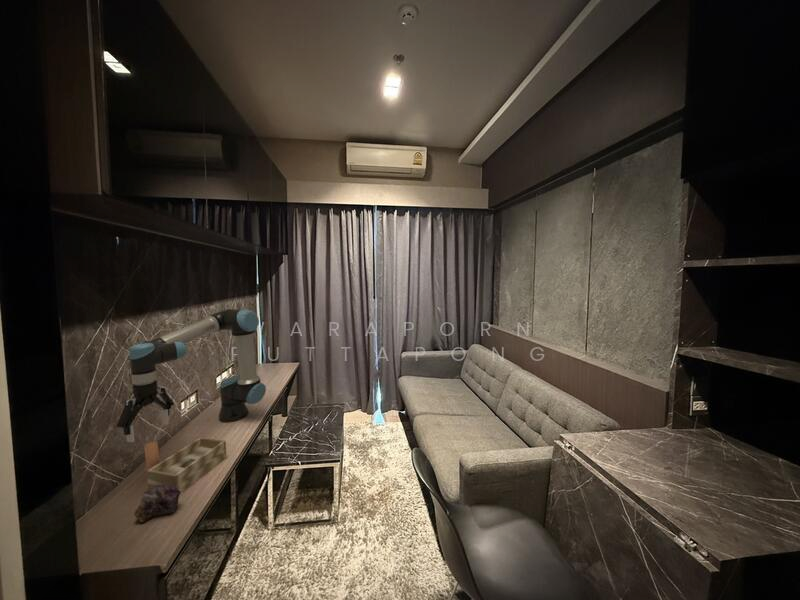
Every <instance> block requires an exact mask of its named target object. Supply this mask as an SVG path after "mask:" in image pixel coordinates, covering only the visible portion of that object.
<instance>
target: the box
mask: <svg viewBox="0 0 800 600" xmlns="http://www.w3.org/2000/svg"><path fill="white" fill-rule="evenodd" d="M226 442H227V441H226V440H221V439H215V438H208V437H199V438H197V439H196V440H194V441H192V442H190V443H189V444H188V445H185V446H184V447H182V448H181V449H179V450H178V451H176V452H175V453H173V454H172V455H170V456H168V457H167V458H165V459H163V460H162V461H159V464H157V465H156V466H154V467H152V468H151V469H149V470H148V471H147V470H146V477H147V479H146V480H147V488H148V489H150V488H152V487H153V486H157V485H164V484H170V485H172V486H175V488H177V490H179V491H180V494H182V492H184V491H186V490H187V489H188V488H189V487H190V486H192V485H194V483H195V482H197V481H199V479H200V478H202V477H203V476H205V475H206V474H207V473H208V472H210V471H211V470H213V468H215V467H216V466H217V465H219V464H220V463H222V462H223V461H224V460H226V459H227V446H226V445H227V443H226ZM148 489H147V490H148Z"/></svg>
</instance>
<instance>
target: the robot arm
mask: <svg viewBox="0 0 800 600" xmlns="http://www.w3.org/2000/svg"><path fill="white" fill-rule="evenodd" d="M259 324H260V320H259V316H258V315H257V313H255V312H254V311H253V310H250V309H238V308H237V309H236V308H229V309H224V310H221V311H217V312H215V313H212V314H210V315H207V316H206V317H205V319H203V320H200V321H197V322H195V323H192V324H190V325H188V326H185V327H182V328H179V329H176V330H174V331H172V332H169V333H166V334H164V335H162V336H159V337H156V338H153V339H151V340H143V342H141V341H140V342H141V343H140V344H137V343H136V344H137V345H136V344H134V345H131V346H130V348H129V357H128V358H129V362H130V364H129V365H130V373H131V383H132V394H133V398H131V399H125V400H124V406H123V408H122V412H121V414H120V417H119V419H118V422H117V423H116V428H122V429H123V434H124V435H125V437H126V442H128V443H135V432H134V425H132V424H133V422H134V420H135V419H136V417H137V415H138V414H139V412H140V411H141V410H142V409H143V407H146V406H148V405H151V404H153V403H155V404H156V405H158V406H159V407H161V408H162V409H161V410H160V411H161V413H160V414H161V424H162V425H166V426H167V425H169V424H170V418H169V416H170V414H171V412H170V409H172V406H174V405H175V404H174V402H173V400H172V399H171V398H170V396H169V394H167V392H166V388H165V387H158V380H157V379H158V376H157V365H160V364H164V363H168V362H173V361H177V360H179V359H182V358H184V357H185V356H186V355H187V347H186V345H185V344H187V343H190V342H192V341H195V340H197V339H199V338H201V337H203V336H206V335H207V334H210V333H217V332H220V331H228V330H229V331H230V332H231V336H232V337H234V339H235V348H236V357H237V364H238V371H239V373H238V374H239V375H236V376H231V377H227V378H225V379H223V380H222V381H221V382H220V383H219V389H220V390H219V392H220V393H219V394H220V402H221V403H220V404H221V406H220V410H219V414H218V421H220V422H222V423H232V422H236V421H240V420H242V419H243V418H245V417H247V416H248V414H249V410H248V407H247V405H246V404H249V405H252V404H253V405H254V404H258V403H259V402H261V401H262V400H263V398H264V396H265V395H266V393H267V392H266V391H267V389H266V388H267V387H266V385H265V384H264V383H263V382H262V381H261V377H260V376H259V375H258V374H257V363H256V357H255V356H256V355H255V354H256V353H255V346H254V338H253V336H254V334H255V333H256V330H257V329H258V326H259ZM157 396H160V397H161V399H162V400H161V399H160V398H158V397H157Z"/></svg>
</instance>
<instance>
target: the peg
mask: <svg viewBox="0 0 800 600" xmlns="http://www.w3.org/2000/svg"><path fill="white" fill-rule="evenodd" d="M159 453H160V452H159V444H158V441H156V440H154V441H153V440H152V441H150V442H147V443H145V444H144V456H145V458H144V459H145V466H146V472H147V471H148V470H149V469H151V468H152V467H154V466H156V465H157V464H159V463H160V454H159Z"/></svg>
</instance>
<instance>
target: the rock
mask: <svg viewBox="0 0 800 600" xmlns="http://www.w3.org/2000/svg"><path fill="white" fill-rule="evenodd" d="M180 495H181V493H180V491H179V490H177V488H175V486H172V485H170V484H164V485H157V486H153V487H152V488H150V489H147V490H145V491H143V493H142V496H141V499H140V500H139V501H140V502H139V503H138V506H137V508H136V509H135V511H134V513H133V515H134V516H135V518H136V519H138V521H139V522H140V523H142V522H143V523H144V522H147V521H149V520H150V519H152V518H154V517H160V516H163V514H165V515H166V514H167V515H168V514H173V513H174V512H175V511H177V508H178V504H179V497H180Z"/></svg>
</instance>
